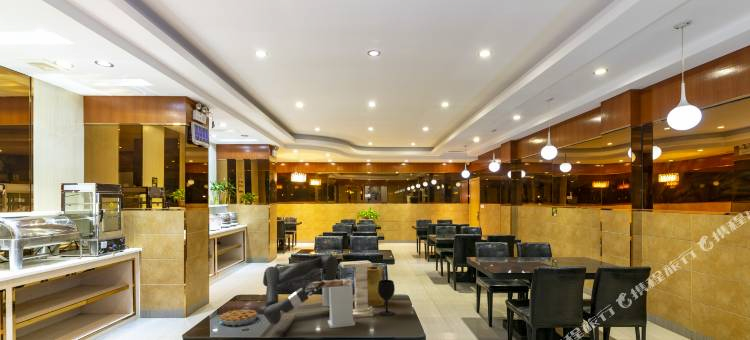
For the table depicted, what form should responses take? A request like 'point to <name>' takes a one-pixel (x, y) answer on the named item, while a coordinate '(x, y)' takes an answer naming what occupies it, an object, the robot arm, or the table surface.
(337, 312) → the white flanged block
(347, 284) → the peg
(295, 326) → the table surface
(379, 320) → the table surface
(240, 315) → the pie
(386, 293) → the wine glass
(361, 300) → the square pedestal column
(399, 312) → the table surface
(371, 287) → the pitcher
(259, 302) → the table surface
